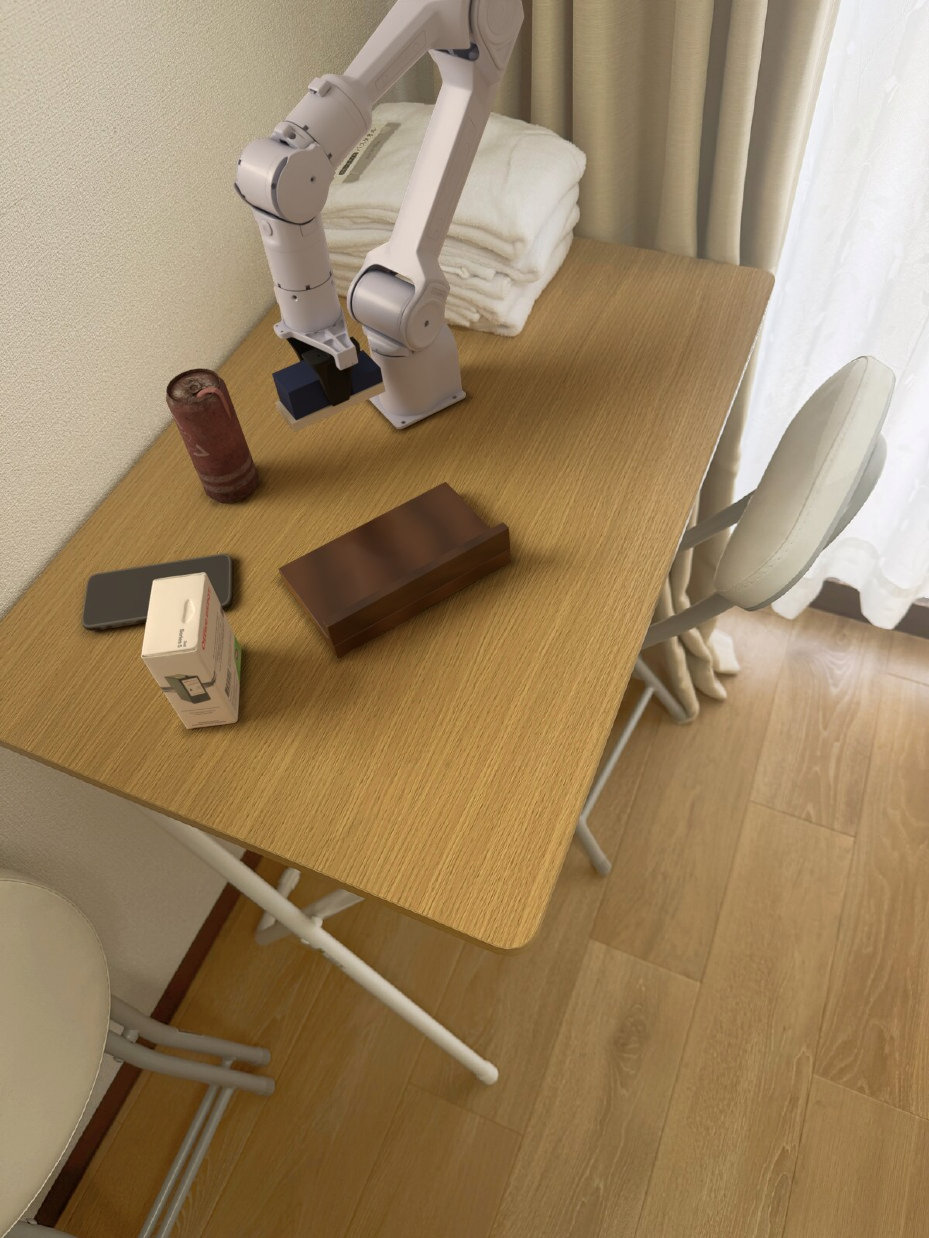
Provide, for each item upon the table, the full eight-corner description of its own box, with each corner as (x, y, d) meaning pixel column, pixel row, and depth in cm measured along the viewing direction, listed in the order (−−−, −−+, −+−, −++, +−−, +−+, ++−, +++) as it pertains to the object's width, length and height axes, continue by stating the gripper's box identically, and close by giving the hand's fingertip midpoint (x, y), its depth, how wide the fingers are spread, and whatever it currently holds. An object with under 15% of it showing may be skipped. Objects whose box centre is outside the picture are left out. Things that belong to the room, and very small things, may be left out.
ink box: (193, 654, 88) (149, 576, 79) (244, 648, 88) (206, 569, 79) (185, 730, 83) (137, 656, 74) (239, 724, 83) (198, 649, 74)
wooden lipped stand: (447, 494, 98) (442, 460, 95) (511, 561, 92) (509, 527, 88) (282, 581, 93) (270, 548, 89) (338, 659, 86) (327, 627, 82)
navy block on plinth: (294, 432, 96) (284, 395, 92) (277, 411, 98) (266, 374, 95) (385, 391, 99) (379, 354, 95) (366, 371, 101) (359, 334, 98)
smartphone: (231, 605, 90) (79, 629, 90) (233, 610, 91) (82, 635, 91) (231, 550, 95) (86, 573, 94) (234, 556, 96) (90, 579, 95)
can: (251, 507, 100) (212, 406, 89) (197, 502, 101) (152, 402, 90) (269, 469, 103) (234, 367, 92) (217, 464, 104) (176, 363, 93)
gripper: (234, 257, 90) (268, 371, 100) (298, 325, 82) (327, 441, 92) (298, 232, 92) (325, 347, 102) (366, 297, 84) (387, 414, 94)
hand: (330, 390), depth 98 cm, fingers closed on navy block on plinth, 4 cm apart
